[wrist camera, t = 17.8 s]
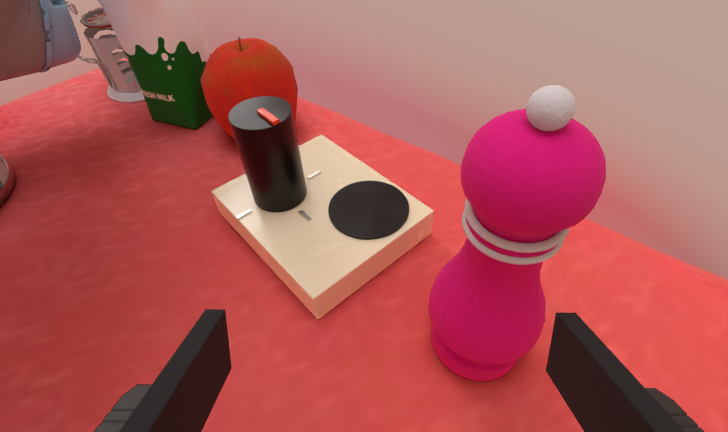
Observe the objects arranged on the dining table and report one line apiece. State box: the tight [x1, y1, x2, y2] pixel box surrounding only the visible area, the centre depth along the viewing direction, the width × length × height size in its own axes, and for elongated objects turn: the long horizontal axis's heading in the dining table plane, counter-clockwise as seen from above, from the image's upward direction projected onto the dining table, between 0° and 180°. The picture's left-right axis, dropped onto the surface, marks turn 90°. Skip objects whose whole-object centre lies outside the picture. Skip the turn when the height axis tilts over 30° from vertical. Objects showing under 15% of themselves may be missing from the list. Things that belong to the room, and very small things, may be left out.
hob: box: [211, 134, 434, 319], centre depth 37 cm, size 16×13×3 cm
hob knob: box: [228, 96, 307, 212], centre depth 34 cm, size 5×5×9 cm
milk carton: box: [98, 0, 213, 130], centre depth 46 cm, size 9×9×20 cm
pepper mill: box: [429, 85, 606, 381], centre depth 23 cm, size 7×7×20 cm
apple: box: [200, 38, 298, 138], centre depth 45 cm, size 10×10×12 cm
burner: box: [328, 180, 409, 240], centre depth 35 cm, size 7×7×1 cm
